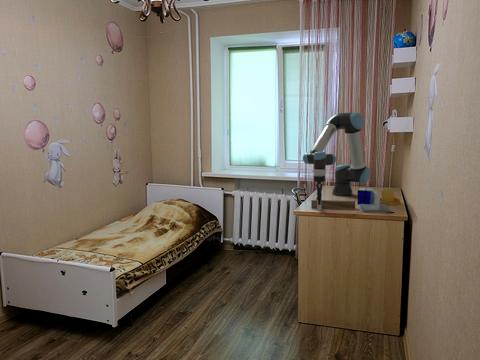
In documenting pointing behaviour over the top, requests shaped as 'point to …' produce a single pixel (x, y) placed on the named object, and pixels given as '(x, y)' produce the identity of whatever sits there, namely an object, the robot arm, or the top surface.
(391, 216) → the top surface
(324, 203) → the walnut batten
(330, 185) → the top surface
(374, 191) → the steel ridge
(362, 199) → the puzzle cube
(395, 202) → the dollhouse swing
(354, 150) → the robot arm
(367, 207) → the slate base
